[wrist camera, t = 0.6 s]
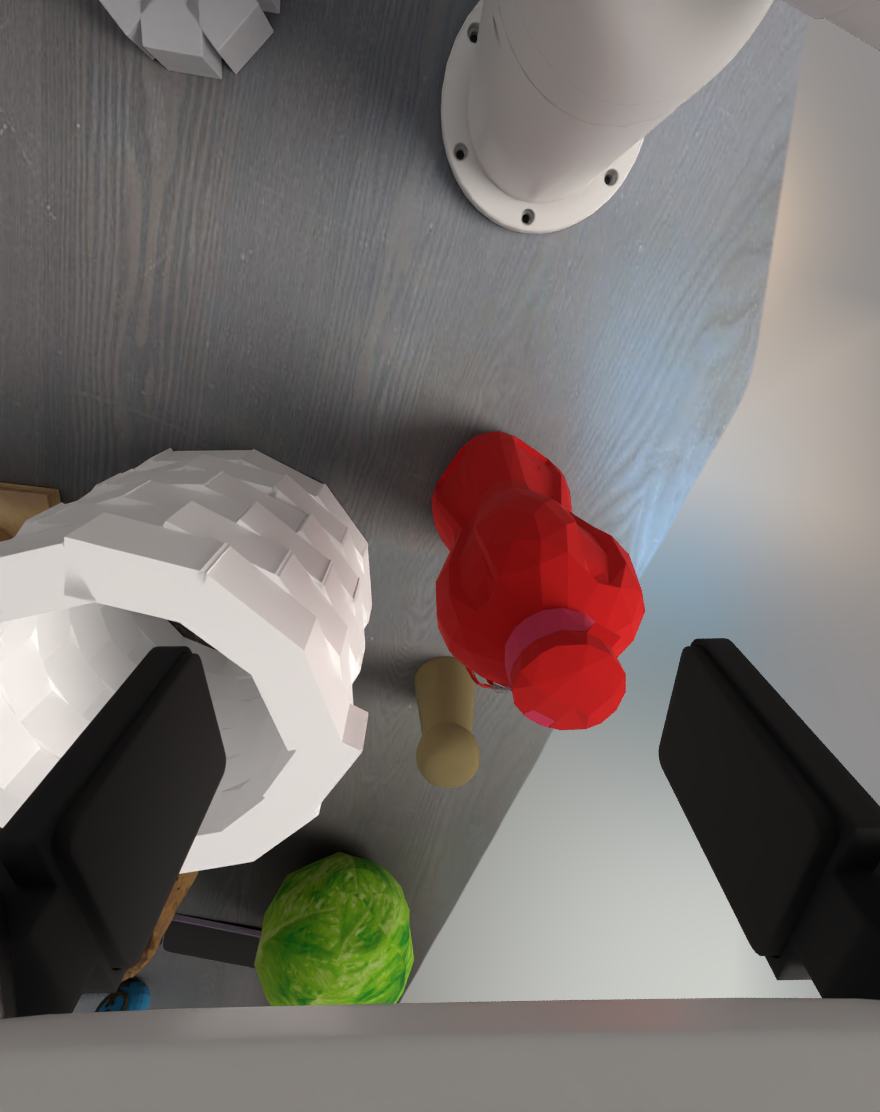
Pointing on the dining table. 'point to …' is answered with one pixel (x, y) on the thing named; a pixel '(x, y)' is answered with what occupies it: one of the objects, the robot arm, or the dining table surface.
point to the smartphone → (211, 940)
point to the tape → (195, 31)
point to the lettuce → (336, 936)
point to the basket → (194, 630)
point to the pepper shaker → (446, 723)
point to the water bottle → (532, 585)
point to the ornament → (127, 998)
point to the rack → (22, 506)
